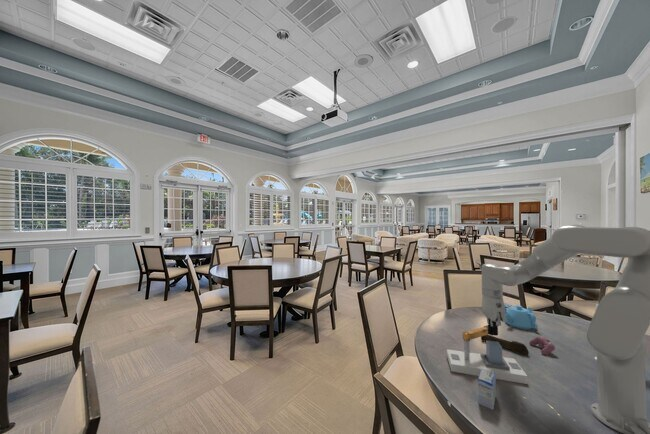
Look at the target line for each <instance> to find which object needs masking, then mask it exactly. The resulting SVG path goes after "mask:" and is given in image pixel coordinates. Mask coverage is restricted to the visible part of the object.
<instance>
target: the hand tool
mask: <svg viewBox="0 0 650 434" xmlns="http://www.w3.org/2000/svg"><path fill="white" fill-rule="evenodd" d="M480 339H481V341H484V342H485V343H486V340H487V341H495V342H499V344H500V345H501V346H502V348H506V349H509V350H511V351H512V352H514V353H517V354H521V355H526V356H528V355H529V354H530V353H529V350H528V347H527V346H526V345H525V344H524V343H521V342H518V341H514V340H512V341H509V340H506V339H503V338H499V337H497V336H495V335H489V334H488V335H485V336H481V337H480Z"/></svg>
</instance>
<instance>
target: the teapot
mask: <svg viewBox="0 0 650 434" xmlns="http://www.w3.org/2000/svg"><path fill="white" fill-rule="evenodd" d="M504 306H505V317H506V321H505V323H506V324H508V325H509V326H510V325H511V327H512V328H515V327H516V328H515V329H519V328H520V330H532V329H538V325H537V323H536V321H537V316H536V315H535V314H534V313H532V312H533V308H531V307H527V308H524V307H523V306H522V305H518V304H517V305H515V306H509V305H507V304H505V303H504Z"/></svg>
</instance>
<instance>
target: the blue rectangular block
mask: <svg viewBox="0 0 650 434" xmlns="http://www.w3.org/2000/svg"><path fill="white" fill-rule="evenodd" d="M485 348H486V349H485V350H486V351H485V352H486V353H485V354H486V357H487V361H488V363H492V364H498V365H503V362H502V357H503V347H502V346H501V345H500V344H499V342H495V341H487V340H486V342H485Z"/></svg>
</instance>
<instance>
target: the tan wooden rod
mask: <svg viewBox="0 0 650 434" xmlns="http://www.w3.org/2000/svg"><path fill="white" fill-rule="evenodd" d="M485 335H490V334H489V333H488V324H487V325H484V326H482V327H478V328H476V329H472V330H468V331H463V332H462V339H463V341H464V340H466V341H469V342H470V341H471V340H474V339H478V338H481V336H485Z"/></svg>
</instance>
